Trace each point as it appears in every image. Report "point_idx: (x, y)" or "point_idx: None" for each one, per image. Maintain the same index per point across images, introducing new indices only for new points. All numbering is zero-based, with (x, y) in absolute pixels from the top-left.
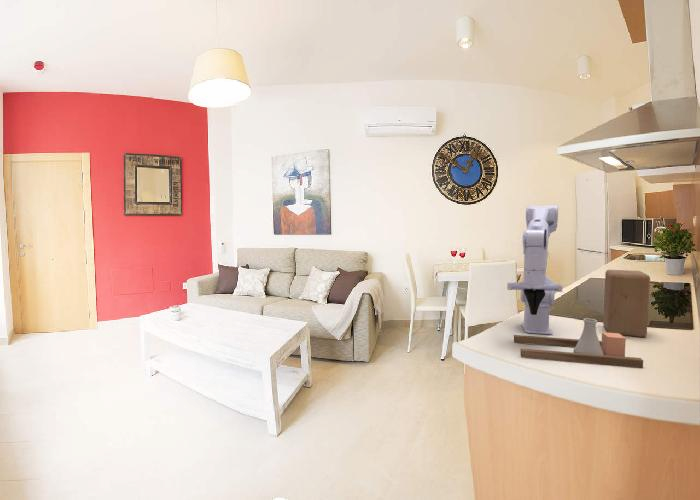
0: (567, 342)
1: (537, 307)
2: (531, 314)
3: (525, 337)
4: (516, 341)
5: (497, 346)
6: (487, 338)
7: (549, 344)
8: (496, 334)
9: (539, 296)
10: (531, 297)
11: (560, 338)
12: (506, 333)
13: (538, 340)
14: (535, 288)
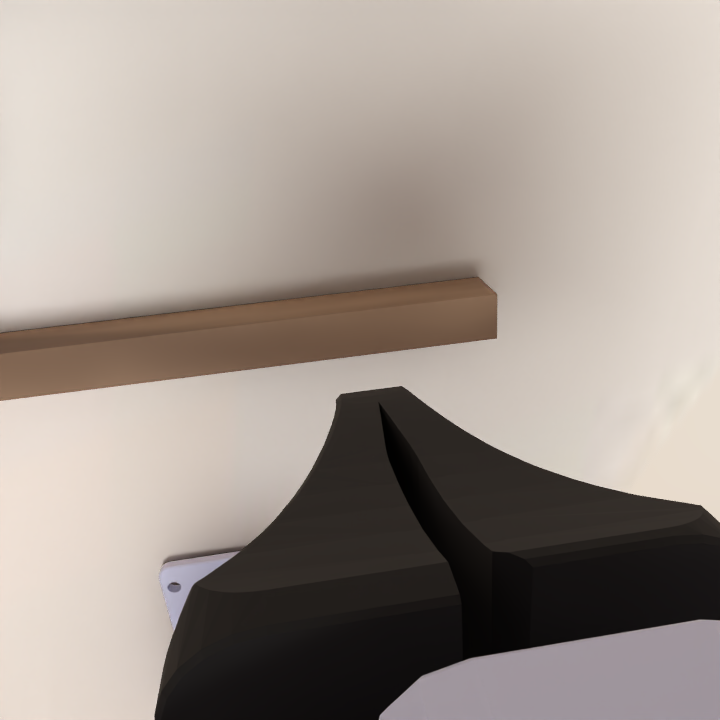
0: (36, 342)
1: (342, 436)
2: (406, 389)
3: (401, 305)
4: (466, 281)
5: (637, 128)
6: (677, 310)
7: (195, 312)
8: (586, 430)
9: (344, 547)
10: (538, 509)
11: (91, 377)
12: None
13: (287, 311)
14: (693, 629)
